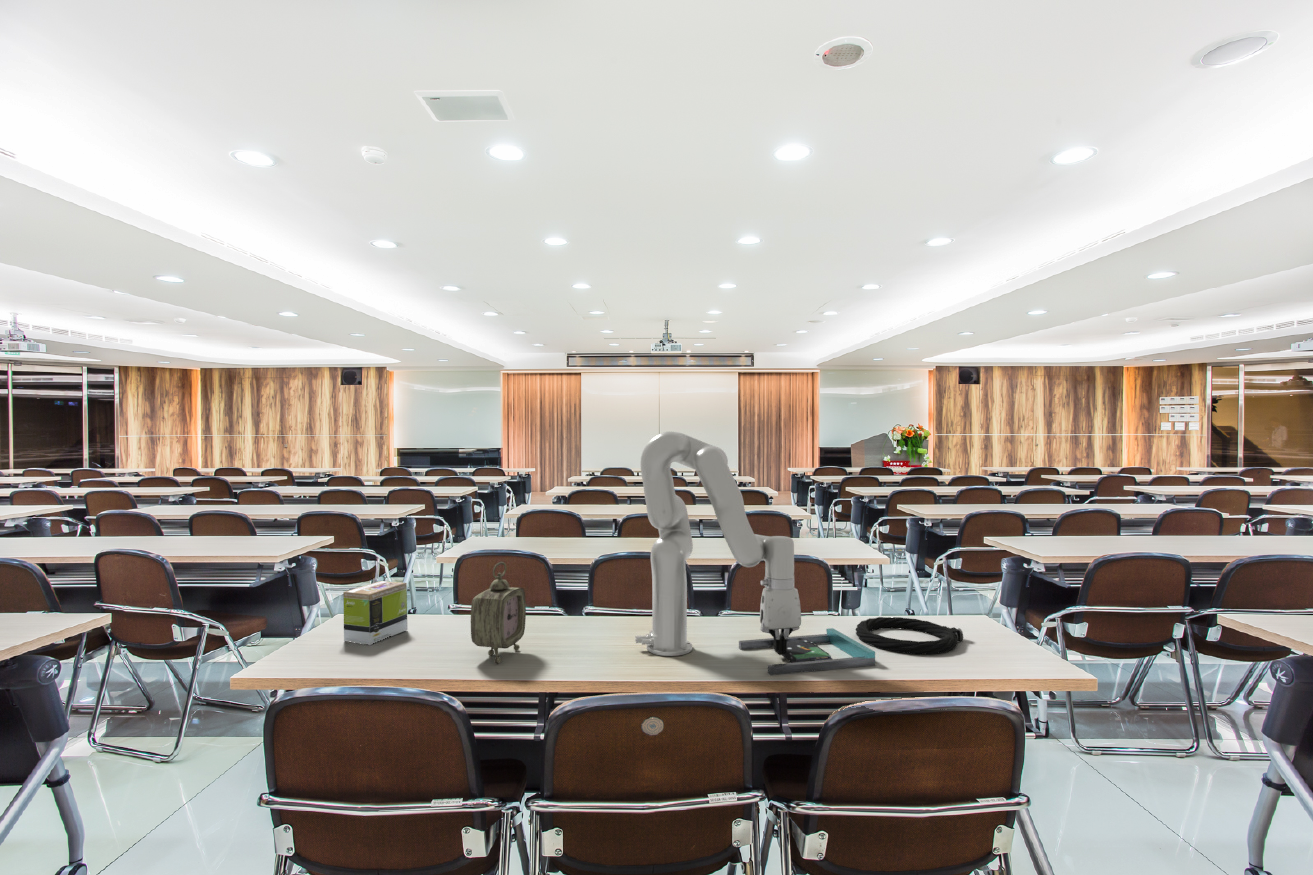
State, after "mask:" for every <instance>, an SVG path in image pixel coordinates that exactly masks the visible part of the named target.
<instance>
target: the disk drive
mask: <svg viewBox="0 0 1313 875" xmlns="http://www.w3.org/2000/svg"><path fill="white" fill-rule="evenodd" d="M781 656H782V657H783V658H784V659H786V660H787V661H788V663H796V662H807V661H818V660H829V659H833V658H832V655H831V654H830V653H829V652H827V651H826V650H825V649H822V648H821V647H820V646H818V645H817V644H814V643H812V642H811V641H810V640H808V639H805V640H789V641H788V642H787V649H786V650H785V655H783V654H782V655H781Z"/></svg>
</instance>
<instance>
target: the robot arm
mask: <svg viewBox="0 0 1313 875" xmlns="http://www.w3.org/2000/svg"><path fill="white" fill-rule="evenodd" d="M728 460H729V458H728V456H727V454H726V452H725V451H724V449H722V448H720V447H717V446H715V445H713V444H709V443H707V442H704V441H701V440H699V439H697V438H694V437H692V436H690V435H688V434H684V433H681V432H677V431H664V432H661V433H659V434H657V435H655V436H654V437H652V438H651V439H650V440H649V441H648V442H647V443H646V445H645V446H644V449H643V450H642V453H641V456H640V473H641V479H642V485H643V493H644V501H645V505H646V511H647V512H646V513H647V518H648V521H649V523H650V525H651V526H652V527H654V528H655V529H657V530H658V534H659V537H658V538H657V539H656V540H655V541H654V543H653V544H652V546H651V549H650V567H651V579H652V581H651V582H652V589H651V590H652V595H651V596H652V598H651V599H652V601H651V602H652V605H651V607H652V609H651V610H652V611H651V612H652V613H651V614H652V615H651V616H652V619H651V620H652V626H651V627H652V628H651V629H652V630H649V633H647V634H646V635H635V638H634V639H635V640H634V641H635V644H641V645H642V646H643V645H646V649H647V651H648V652H649V653H651V654H653V655H655V656H656V655H657V656H663V657H676V656H677V657H678V656H683V655H686V654H689V653H691V652H692V651H693V643H691V642H690V641H688V640H687V639H688V638H687V636H688V633H687V632H688V628H687V627H688V622H687V621H688V616H687V615H688V611H687V610H688V603H687V602H688V599H687V598H688V592H687V591H688V587H687V584H688V582H687V580H688V579H687V569H686V568H687V567H686V566H687V565H686V561H687V560H688V559H689V558H690V556H691V555H692V552H693V546H694V544H693V537H692V532H691V526H690V521H689V520H690V519H689V514H688V509H687V505H686V504H685V501H684V500H683V499H682V497H680V496H679V495H677V494H676V490H675V486H674V485H675V484H674V479H673V474H672V470H671V466H672V464H673V463H678V464H681V465H683V466H685V467H687V468H691V469H693V470H695V472H696V474H697V476H698V479H699V480H700V483H701V485H702V487H703V489H704V491H705V493H706V495H707V498H708V499H709V501H710V504H711V506H712V508H713V510H714V514H715V517H716V519H717V522H718V524H719V526H720V530H721V533H722V535H723V537H724V539H725V542H726V544H727V546H728V547H729V550H730V552H731V554H732V556H733V558H734V559H735V561H736V562H737V563H738V564H739V565H740V566H742V567H745V568H753V567H756V566H757V565H759V563H761V562H762V561H764V562H765V566H764V570H765V571H764V572H765V574H764V579H761V580H760V585H761V586H764V588H763V589H762V593H761V598H760V607H759V608H760V610H759V622H760V628H759V630H760V632H762V633H765V634H770V636H771V637H772V638H774V647H773V650H774V652H775V653H776V654H777V655H779V656H782V654H783V655H785V650H786V649H787V639H788V637H790V635H791V633H792V632H796V631H798V630H799V629H800V628H801V627H800V626H801V625H802V611H801V608H802V607H801V601H800V595H799V592H798V591H799V590H798V588H796V587H795V542H794V540H793V538H791V537H790V536H783V535H772V536H768V535H762V534H756V533H755V532H754V531H753V528H752V527H751V524H750V522H749V519H748V516H747V514H746V510H745V503H744V498H743V494H742V491H741V490H740V488H739V485H738V483H737V482H736V480H735V477H734V475H733V473H732V471H731V469H730V467H729V465H728V464H729V463H728Z"/></svg>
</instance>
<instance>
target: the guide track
mask: <svg viewBox="0 0 1313 875" xmlns="http://www.w3.org/2000/svg"><path fill="white" fill-rule="evenodd" d="M805 639H808V640H810V641H811V642H812V643H814V644H815V645H817V644H826V643H829V644H831V645H833V646H835V647H836V648H838V649H839V650H841V651H843V652H844V653H846V654H848V655H849V656H851V657H845V658H844V657H843V658H832V659H829V660H818V661H807V662H796V663H790V662H787V663H777V664H776V663H775V664H774V663H773V664H767V674H768V675H769V676H777V675H788V674H798V673H808V672H809V673H810V672H820V671H829V670H840V669H841V670H842V669H852V668H863V667H864V668H865V667H873V666H874V667H875V666H876V651H874V650H873V649H871V648H869V647H867V646H866V645H864V644H862V643H860V642H858V641H856V640H855V639H853V638H851V637H850V636H847V635H846V634H844V633H842V632H840V631H839V630H837V629H835V628H833V627H832V628H829V627H828V628H826V633H823V634H809V635H807V634H806V635H796V636H795V635H794V636H789V637H788V639H787V642H788V641H789V640H805ZM767 648H774V637H771V638H758V639H757V638H756V639H745V640H738V649H739V650H742V651H743V650H751V649H752V650H753V649H754V650H755V649H767Z"/></svg>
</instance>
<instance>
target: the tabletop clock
mask: <svg viewBox="0 0 1313 875" xmlns="http://www.w3.org/2000/svg"><path fill="white" fill-rule="evenodd" d="M501 565H503V568H504V571H503V572H502V573H501V572H497V575H496V574H495V572H496V569H497V568H498V567H499V566H501ZM506 572H507V564H506V563H505V562H504V561H499V562H497V563H496V564H495V565H494V567H493V569H492V577H493V578H494V580H493V581H492V582H491V584H490V585H489V588H487V589H486V590H484V591H482V592H480V593H478V594H477V595H475V596H474V597H473V599H472V600H471V605H470V606H471V608H470V638H471V642H472V643H473V644H474V645H475V646H477V647H483V648H490V649H489V650H488V652H487V655H488V656H490V657H492V656H494V655H495V658H494V661H493V662H494V664H496V665H498V664H500V663H501V660H502V658H500V657H499V649H509V648H510V647H512V646H513V650H514V651H519V650H520V644H518V642H519V641H520V640H521V639H522V638H523V636H524V634H525V628H526V616H527V614H526V613H527V605H526V591H525V589H524V588H523V587H514V586H513V587H510V583H509V582H508V581H507V579H503V577H504V576H505V574H506Z"/></svg>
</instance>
